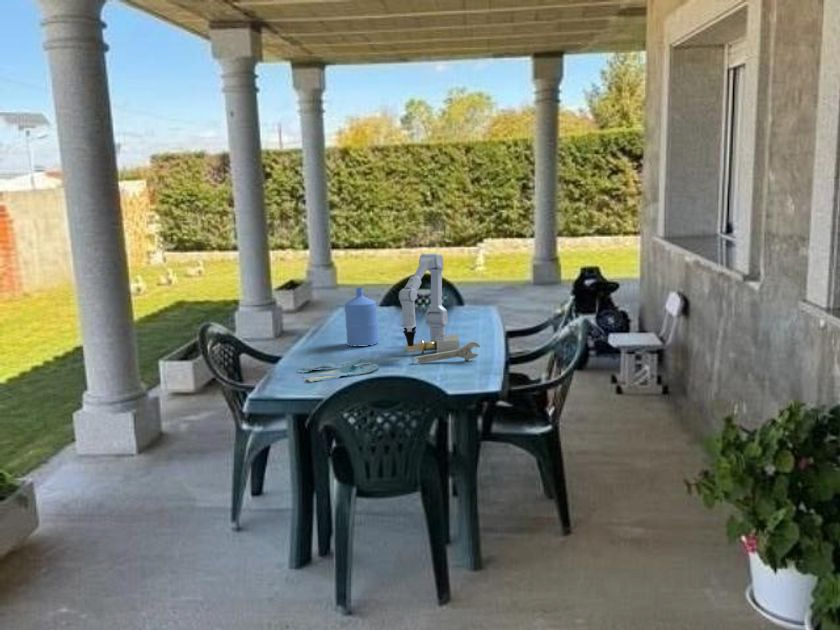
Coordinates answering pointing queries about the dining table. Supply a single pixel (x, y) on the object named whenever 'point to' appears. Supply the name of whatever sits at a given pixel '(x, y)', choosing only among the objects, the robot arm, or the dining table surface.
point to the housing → (447, 343)
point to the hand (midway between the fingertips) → (410, 344)
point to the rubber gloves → (344, 369)
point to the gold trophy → (422, 346)
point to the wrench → (450, 354)
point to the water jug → (361, 320)
